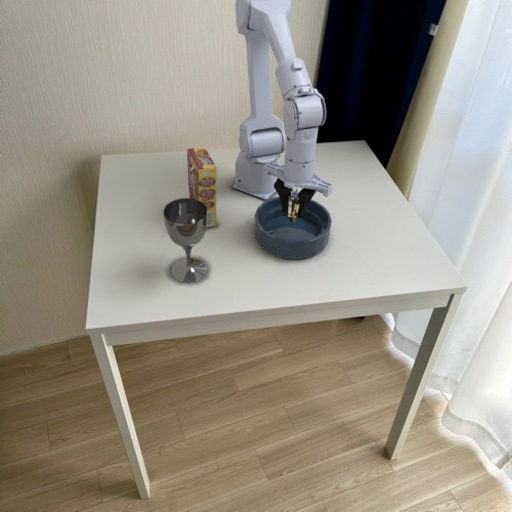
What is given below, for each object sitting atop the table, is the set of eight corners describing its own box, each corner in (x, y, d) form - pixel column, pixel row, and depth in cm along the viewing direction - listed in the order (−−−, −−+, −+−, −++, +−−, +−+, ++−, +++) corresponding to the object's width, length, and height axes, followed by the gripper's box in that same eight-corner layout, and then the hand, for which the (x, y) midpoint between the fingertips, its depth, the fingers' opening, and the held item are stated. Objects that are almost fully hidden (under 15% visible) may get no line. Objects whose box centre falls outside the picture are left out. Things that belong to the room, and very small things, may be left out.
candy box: (218, 226, 116) (217, 167, 105) (199, 229, 114) (196, 170, 104) (207, 203, 122) (205, 145, 111) (189, 206, 121) (185, 148, 110)
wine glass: (170, 257, 107) (164, 198, 97) (209, 256, 108) (207, 197, 98) (168, 285, 102) (162, 224, 91) (209, 283, 102) (207, 224, 92)
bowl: (240, 242, 112) (240, 224, 108) (277, 204, 122) (278, 187, 119) (307, 271, 106) (310, 252, 102) (340, 229, 116) (343, 211, 113)
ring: (295, 233, 108) (298, 202, 103) (280, 230, 109) (283, 198, 104) (305, 214, 113) (308, 184, 108) (290, 211, 114) (293, 180, 109)
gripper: (256, 153, 101) (254, 210, 110) (324, 177, 95) (316, 234, 104) (274, 138, 105) (271, 193, 114) (340, 160, 100) (331, 216, 109)
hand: (293, 212), depth 110 cm, fingers closed on ring, 3 cm apart
